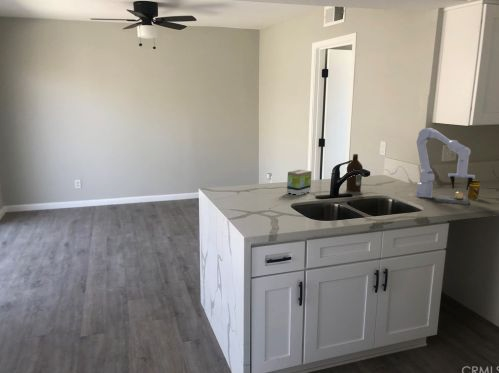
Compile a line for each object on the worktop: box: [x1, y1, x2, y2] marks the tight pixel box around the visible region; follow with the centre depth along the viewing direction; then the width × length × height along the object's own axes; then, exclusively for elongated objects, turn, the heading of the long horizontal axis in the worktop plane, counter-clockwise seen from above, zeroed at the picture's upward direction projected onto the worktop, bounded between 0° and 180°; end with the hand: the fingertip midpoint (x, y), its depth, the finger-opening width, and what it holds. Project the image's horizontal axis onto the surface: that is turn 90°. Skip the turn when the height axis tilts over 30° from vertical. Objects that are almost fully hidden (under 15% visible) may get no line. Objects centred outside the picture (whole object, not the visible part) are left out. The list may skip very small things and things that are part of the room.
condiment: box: [463, 179, 480, 201], centre depth 269 cm, size 7×8×12 cm
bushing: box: [455, 191, 464, 200], centre depth 260 cm, size 4×4×6 cm
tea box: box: [286, 169, 312, 196], centre depth 280 cm, size 15×10×15 cm, turn 143°
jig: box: [435, 194, 470, 206], centre depth 262 cm, size 18×11×2 cm, turn 67°
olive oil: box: [346, 153, 364, 192], centre depth 289 cm, size 11×11×25 cm
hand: (459, 189), depth 259 cm, fingers open, 7 cm apart
